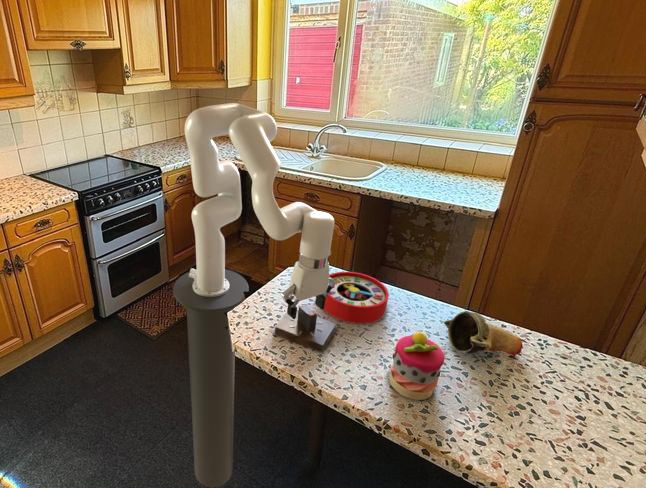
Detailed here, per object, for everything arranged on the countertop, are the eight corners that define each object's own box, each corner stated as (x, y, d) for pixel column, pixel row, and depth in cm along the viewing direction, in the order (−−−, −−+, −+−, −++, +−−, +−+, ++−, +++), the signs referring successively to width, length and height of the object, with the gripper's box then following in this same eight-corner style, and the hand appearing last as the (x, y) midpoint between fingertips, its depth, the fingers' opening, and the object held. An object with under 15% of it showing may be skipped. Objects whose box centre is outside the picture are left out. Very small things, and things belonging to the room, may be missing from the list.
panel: (274, 333, 113) (275, 326, 112) (290, 313, 121) (291, 306, 120) (321, 352, 106) (322, 344, 105) (335, 330, 115) (336, 322, 113)
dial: (297, 320, 114) (298, 305, 112) (303, 318, 115) (305, 303, 113) (309, 331, 110) (310, 316, 108) (315, 329, 111) (317, 314, 109)
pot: (551, 341, 97) (485, 319, 96) (531, 383, 98) (466, 362, 97) (499, 318, 114) (443, 299, 113) (484, 353, 116) (428, 335, 114)
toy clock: (328, 266, 135) (391, 279, 128) (326, 281, 138) (387, 294, 131) (315, 297, 119) (385, 314, 112) (313, 313, 122) (382, 330, 114)
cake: (379, 369, 101) (391, 322, 94) (418, 365, 102) (432, 318, 95) (401, 403, 91) (415, 353, 85) (444, 398, 93) (461, 348, 86)
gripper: (329, 245, 110) (321, 296, 118) (277, 258, 103) (272, 312, 111) (348, 258, 104) (338, 310, 112) (294, 273, 97) (287, 328, 105)
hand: (305, 311), depth 111 cm, fingers open, 9 cm apart
